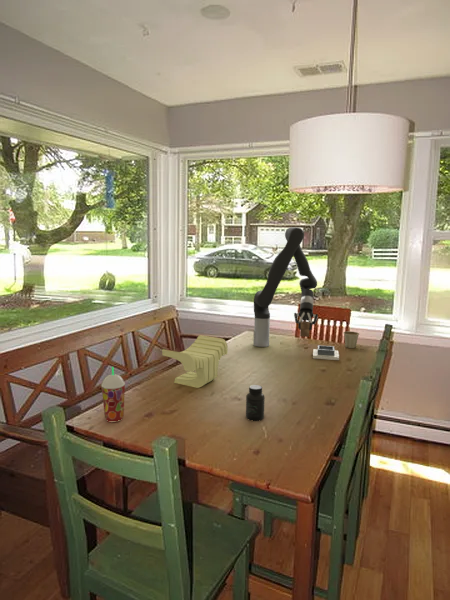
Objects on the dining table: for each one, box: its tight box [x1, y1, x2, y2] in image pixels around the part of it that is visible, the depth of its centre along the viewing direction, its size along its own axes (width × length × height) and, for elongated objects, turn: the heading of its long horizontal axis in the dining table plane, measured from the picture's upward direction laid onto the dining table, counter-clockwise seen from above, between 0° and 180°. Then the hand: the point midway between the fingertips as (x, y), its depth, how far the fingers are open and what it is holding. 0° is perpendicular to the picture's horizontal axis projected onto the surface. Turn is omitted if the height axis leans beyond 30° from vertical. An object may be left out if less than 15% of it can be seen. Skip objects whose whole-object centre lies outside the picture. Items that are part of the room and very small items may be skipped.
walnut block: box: [299, 320, 310, 338], centre depth 248 cm, size 5×4×8 cm
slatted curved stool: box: [161, 334, 229, 389], centre depth 198 cm, size 30×16×18 cm, turn 151°
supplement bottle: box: [245, 384, 266, 422], centre depth 161 cm, size 7×7×12 cm
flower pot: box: [342, 330, 360, 349], centre depth 261 cm, size 9×9×9 cm
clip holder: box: [312, 345, 340, 361], centre depth 242 cm, size 14×14×4 cm
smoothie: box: [100, 366, 126, 422], centre depth 157 cm, size 8×8×20 cm
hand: (304, 329), depth 246 cm, fingers closed on walnut block, 5 cm apart
